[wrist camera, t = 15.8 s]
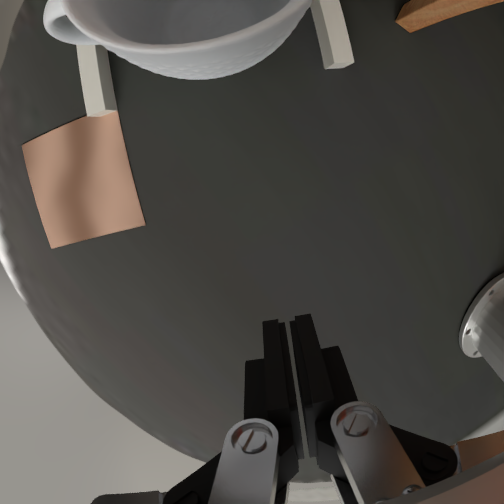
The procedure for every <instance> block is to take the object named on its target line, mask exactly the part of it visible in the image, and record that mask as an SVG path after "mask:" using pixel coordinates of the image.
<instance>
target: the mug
mask: <svg viewBox="0 0 504 504" xmlns="http://www.w3.org/2000/svg"><path fill="white" fill-rule="evenodd" d="M311 3H312V0H48V2H47V4H46V6H45V10H44V16H43V21H44V27H45V29H46V30H47V32H48V33H49V34H50V35H51V36H53V37H54V38H56V39H58V40H60V41H63V42H66V43H71V44H76V45H100V44H101V45H102V46H104V47H105V48H106V49H107V50H110V51H112V52H114V53H115V54H116V55H117V56H119V57H121V58H125V59H126V60H127V61H129V62H130V63H133V64H136V65H138V66H139V67H141V68H144V69H147V70H149V71H152V72H153V73H158V74H161V75H165V76H167V77H174V78H179V79H189V80H193V79H196V80H198V79H199V80H202V79H205V80H207V79H210V78H218V77H224V76H227V75H232V74H234V73H238V72H241V71H242V70H245V69H247V68H249V67H251V66H254V65H255V64H256V63H258V62H260V61H262V60H263V59H264V58H266V57H267V56H268V55H270V54H271V53H272V52H274V51H275V50H276V49H277V47H279V46H280V45H281V44H282V43H283V42H284V41H285V39H286V38H287V37H288V36H289V35H290V34H291V32H292V30H293V29H295V28H296V26H297V24H298V22H299V21H300V20H301V18H302V17H303V16H304V14H305V11H306V10H307V9H308V8H309V7H310V5H311ZM64 15H67V17H68V18H67V17H66V16H64Z"/></svg>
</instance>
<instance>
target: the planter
mask: <svg viewBox="0 0 504 504" xmlns="http://www.w3.org/2000/svg"><path fill="white" fill-rule="evenodd" d="M503 1H504V0H411V1H409V2H407V3H406V4H404V5H403V7H402V9H401V11H400V13H399V15H398V17H397V19H396V21H395V22H396V23H398V24H399V25H400V26H402V27H403V28H404V29H406V30H407V31H408V32H410V33H412V32H414V31H417V30H419V29H422V28H424V27H427V26H429V25H432V24H434V23H437V22H440V21H442V20H445V19H448V18H451V17H454V16H457V15H460V14H463V13H466V12H469V11H472V10H475V9H478V8H481V7H485V6H488V5H492V4H495V3H499V2H503Z"/></svg>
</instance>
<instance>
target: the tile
mask: <svg viewBox="0 0 504 504" xmlns="http://www.w3.org/2000/svg"><path fill="white" fill-rule="evenodd" d="M22 149H23V153H24V158H25V162H26V166H27V171H28V175H29V178H30V182H31V186H32V190H33V193H34V197H35V200H36V204H37V207H38V210H39V213H40V217H41V220H42V223H43V226H44V229H45V232H46V235H47V237H48V240H49V243H50V246H51V249H52V248H56V247H60V246H63V245H67V244H71V243H75V242H79V241H82V240H86V239H90V238H94V237H98V236H102V235H106V234H110V233H114V232H118V231H122V230H126V229H131V228H135V227H139V226H143V225H146V223H145V220H144V217H143V213H142V210H141V206H140V202H139V199H138V195H137V191H136V187H135V184H134V180H133V176H132V172H131V168H130V164H129V160H128V155H127V151H126V147H125V142H124V138H123V133H122V129H121V124H120V119H119V114H118V111H115V112H112V113H109V114H106V115H104V116H101V117H87V116H85V117H82V118H80V119H77V120H75V121H73V122H70V123H68V124H66V125H63V126H61V127H59V128H57V129H54V130H52V131H50V132H48V133H46V134H44V135H42V136H40V137H38V138H35V139H33V140H31V141H29V142H28V143H26V144H24V145H22Z"/></svg>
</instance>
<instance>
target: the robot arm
mask: <svg viewBox="0 0 504 504" xmlns="http://www.w3.org/2000/svg"><path fill="white" fill-rule="evenodd" d="M290 328H291V335H292V342H293V349H294V357H295V364H296V371H297V378H298V385H299V391H300V397H301V404H302V410H303V416H304V423H305V429H306V436H307V442H308V449H309V456H310V458H311V457H316V459H317V465H319V468H320V469H322V470H324V471H326V472H328V473H330V475H331V479H332V482H333V484H334V487H335V489H336V492H337V494H338V497H339V500H340V502H341V504H504V430H503V431H500V432H496V433H493V434H489V435H485V436H481V437H477V438H473V439H469V440H464V441H460V442H457V443H456V445H453V446H448V445H446V444H444V443H440V442H437V441H434V440H431V439H428V438H425V437H422V436H419V435H416V434H414V433H411V432H408V431H405V430H402V429H400V428H397V427H394V426H392V425H389V424H388V423H387V421H386V419H385V418H384V416H383V414H382V413H381V411H380V410H379V409H378V408H377V407H376V406H374V405H372V404H371V403H367V402H363V401H358V399H357V396H356V394H355V391H354V388H353V385H352V382H351V379H350V376H349V373H348V370H347V368H346V365H345V362H344V359H343V356H342V354H341V351H340V348H339V346H334V347H329V348H324V349H321V348H320V345H319V341H318V338H317V334H316V331H315V327H314V324H313V320H312V317H311V314H305V315H300V316H295V321H290ZM263 342H264V359H257V360H249V361H246V362H245V394H244V420H243V421H240V422H239V423H237V424H235V425H234V426H233V427H232V428H231V429H230V430H229V431H228V433H227V436H226V438H225V442H224V446H223V450H222V452H220V453H219V454H218V455H216V456H215V457H214V458H213V459H211V460H210V461H209V462H207V463H206V464H205V465H204V466H202V467H201V468H199V469H198V470H197V471H195V472H194V473H192V474H191V475H190V476H188V477H187V478H186V479H184V480H183V481H181V482H180V483H178V484H177V485H176V486H174V487H173V488H171V489H170V490H169V491H168V492H163V493H160V492H159V491H150V492H139V493H125V494H105V495H101V496H98V497H97V498H95V499H94V500H93V502H92V503H91V504H287V503H288V495H289V485H290V484H289V481H290V480H291V479H292V478H293V477H294V476H295V475H296V474H297V473H298V472H299V470H298V468H299V464H298V459H304V451H303V444H302V436H301V429H300V421H299V414H298V407H297V400H296V393H295V386H294V380H293V373H292V366H291V360H290V353H289V347H288V340H287V334H286V328H285V322H283V323H279V322H278V319H276V320H270V321H263ZM459 345H460V347H461V349H462V350H463V352H464V353H465V354H466V355H467V356H469V357H472V358H474V357H481V356H483V357H484V358H485V360H486V361H487V362H488V363H489V364H490V366H491V367H492V368H493V369H494V371H495V372H496V373H497V374H498V376H499V377H500V378H501V379H502V381H503V382H504V273H502V274H500V275H499V276H497V277H495V278H494V279H493V280H491V281H490V282H489V283H488V284H487V285H486V286H485V287H484V288H483V289H482V290H481V291H480V293H479V294H478V295H477V296H476V298H475V299H474V301H473V302H472V304H471V305H470V307H469V309H468V311H467V312H466V314H465V317H464V319H463V322H462V325H461V328H460V332H459Z"/></svg>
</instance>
